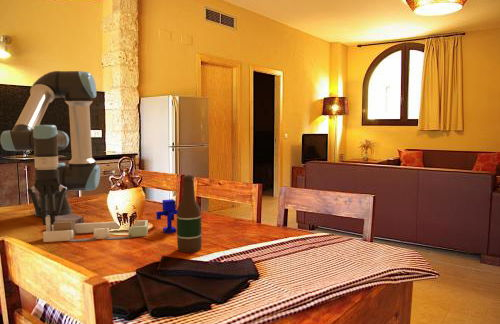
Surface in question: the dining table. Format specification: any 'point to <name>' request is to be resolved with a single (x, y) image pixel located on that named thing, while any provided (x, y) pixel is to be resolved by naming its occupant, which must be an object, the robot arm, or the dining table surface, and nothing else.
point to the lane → (95, 231)
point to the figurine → (168, 214)
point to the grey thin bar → (94, 239)
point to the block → (64, 225)
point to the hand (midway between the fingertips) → (49, 233)
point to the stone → (71, 216)
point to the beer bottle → (188, 219)
